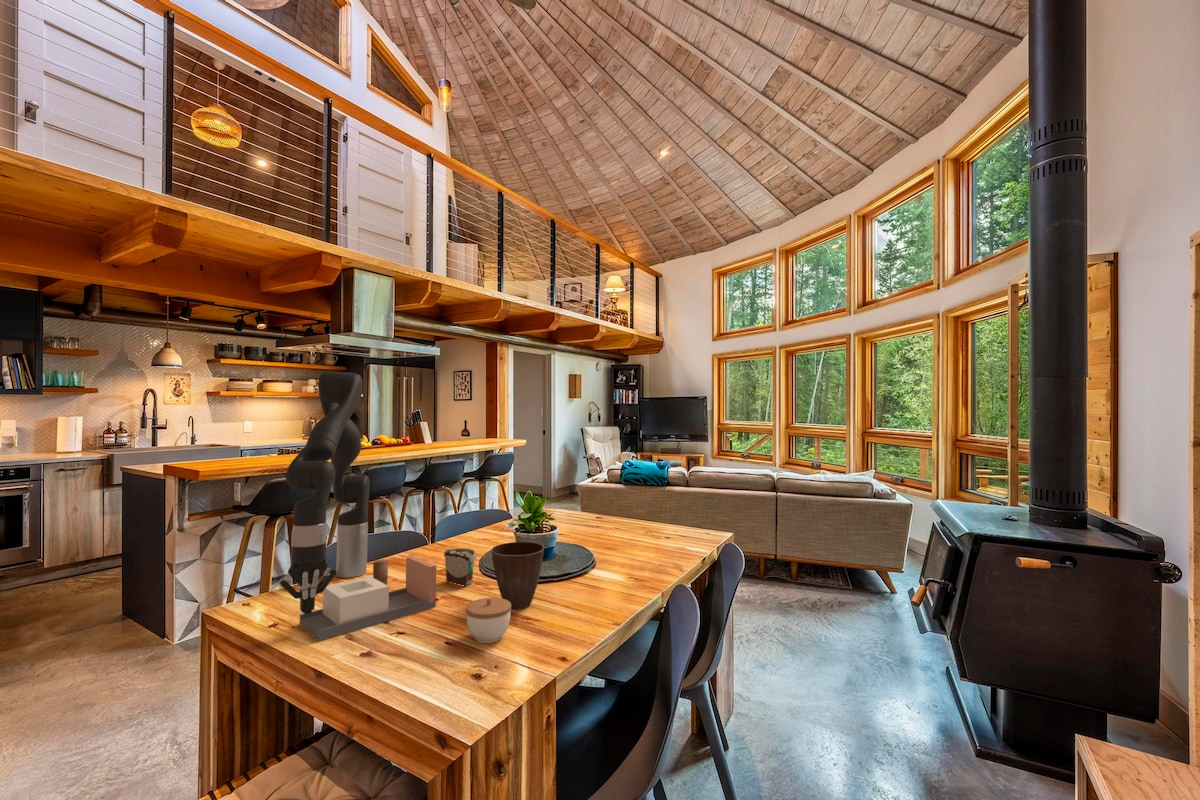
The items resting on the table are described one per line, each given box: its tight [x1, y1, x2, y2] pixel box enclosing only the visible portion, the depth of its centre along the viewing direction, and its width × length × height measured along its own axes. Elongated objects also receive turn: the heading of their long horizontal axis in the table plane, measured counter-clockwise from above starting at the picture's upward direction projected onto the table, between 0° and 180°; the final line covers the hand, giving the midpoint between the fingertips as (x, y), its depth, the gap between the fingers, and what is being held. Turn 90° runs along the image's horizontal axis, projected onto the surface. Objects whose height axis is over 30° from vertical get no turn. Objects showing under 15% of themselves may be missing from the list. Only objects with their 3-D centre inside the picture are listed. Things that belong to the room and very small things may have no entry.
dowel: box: [372, 559, 389, 586], centre depth 148 cm, size 4×4×10 cm
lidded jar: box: [465, 597, 512, 644], centre depth 120 cm, size 11×11×9 cm
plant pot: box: [491, 541, 545, 610], centre depth 142 cm, size 15×15×16 cm
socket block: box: [322, 575, 390, 625], centre depth 130 cm, size 12×12×7 cm
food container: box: [443, 547, 477, 586], centre depth 160 cm, size 12×6×10 cm, turn 58°
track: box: [299, 555, 437, 642], centre depth 133 cm, size 14×30×12 cm, turn 137°
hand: (307, 612), depth 122 cm, fingers closed
